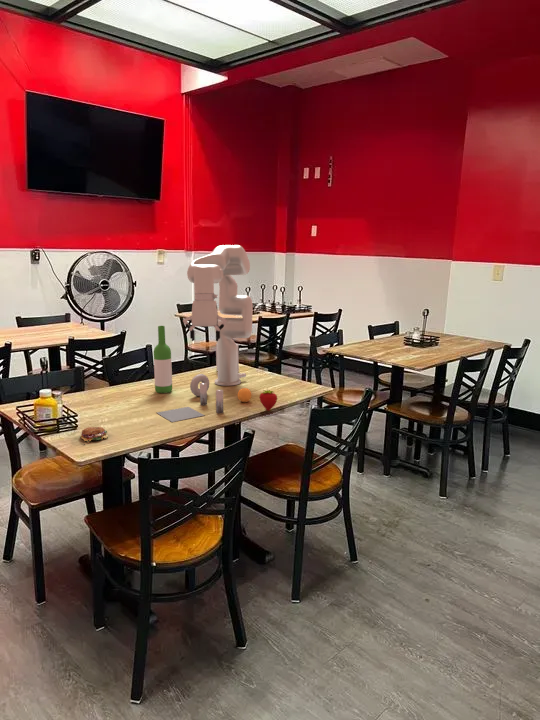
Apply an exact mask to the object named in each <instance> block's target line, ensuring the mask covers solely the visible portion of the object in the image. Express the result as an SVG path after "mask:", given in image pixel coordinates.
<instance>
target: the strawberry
mask: <svg viewBox="0 0 540 720" xmlns="http://www.w3.org/2000/svg"><path fill="white" fill-rule="evenodd" d="M262 391H263V392H261V393H260V394H259V401H260V403H261V405H262V406H263V408H265V410H266V411H267V412H269V411H271V410H272V409H273V407H274V406H275V405H276V404H277V401H278V396H277V394H275V391H273V390H270V389H269V390H268V389H266V390H262Z"/></svg>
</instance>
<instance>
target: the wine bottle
mask: <svg viewBox="0 0 540 720" xmlns="http://www.w3.org/2000/svg"><path fill="white" fill-rule="evenodd" d="M157 332H158V333H157V337H158V339H157V340H158V343H157V345H156V346H155V347H154V349H153V369H154V370H153V371H154V390H155V393H158V394H168V393H171V392H172V391H173V371H172V370H173V369H172V367H173V366H172V349H171V348H170V346H169V345H167V343H166V328H165V325H158V326H157Z"/></svg>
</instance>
